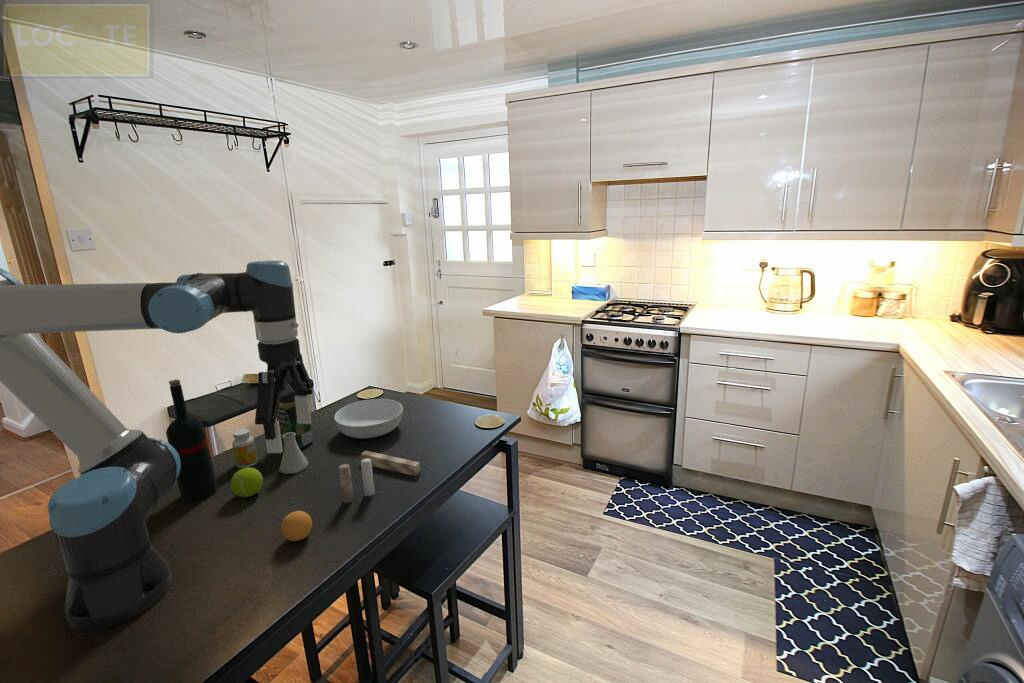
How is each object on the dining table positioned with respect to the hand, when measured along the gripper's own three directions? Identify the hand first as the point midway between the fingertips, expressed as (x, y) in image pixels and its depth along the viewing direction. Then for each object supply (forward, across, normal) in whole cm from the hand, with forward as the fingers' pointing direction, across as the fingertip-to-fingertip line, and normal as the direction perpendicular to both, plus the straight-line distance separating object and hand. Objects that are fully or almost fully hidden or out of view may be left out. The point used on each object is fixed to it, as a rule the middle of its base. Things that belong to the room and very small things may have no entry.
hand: (290, 436), depth 102 cm
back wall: (+21, +24, -14) cm, 35 cm away
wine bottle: (+22, +13, +32) cm, 41 cm away
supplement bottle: (+22, +28, +28) cm, 46 cm away
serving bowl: (+22, +48, -2) cm, 52 cm away
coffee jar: (+22, +40, +19) cm, 49 cm away
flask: (+22, +25, +13) cm, 36 cm away
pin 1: (+21, +9, -7) cm, 24 cm away
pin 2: (+21, +12, -12) cm, 27 cm away
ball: (+18, -4, -1) cm, 19 cm away
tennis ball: (+22, +13, +19) cm, 32 cm away
